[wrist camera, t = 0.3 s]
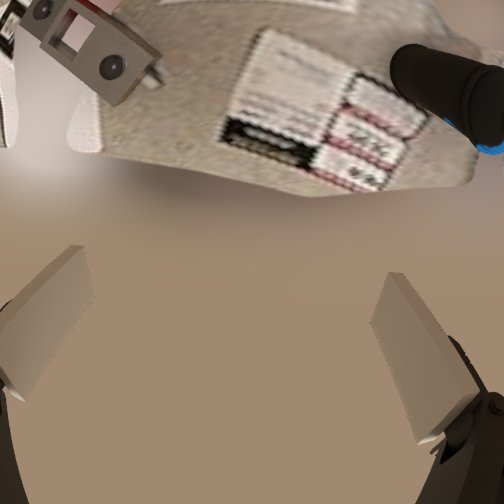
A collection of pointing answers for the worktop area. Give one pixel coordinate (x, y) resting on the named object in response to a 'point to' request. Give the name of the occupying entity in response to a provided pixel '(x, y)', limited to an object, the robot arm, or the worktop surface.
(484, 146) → the aerosol can
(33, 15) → the slotted metal plate
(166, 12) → the worktop surface
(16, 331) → the robot arm
